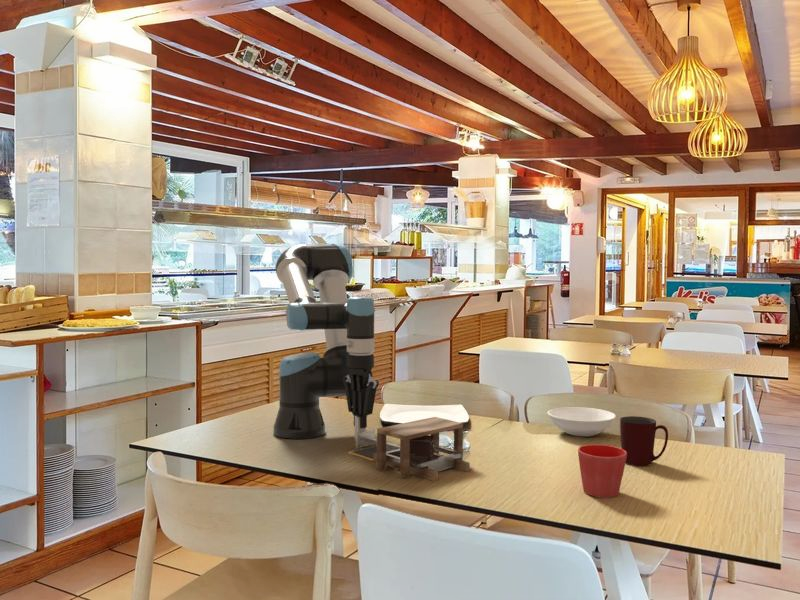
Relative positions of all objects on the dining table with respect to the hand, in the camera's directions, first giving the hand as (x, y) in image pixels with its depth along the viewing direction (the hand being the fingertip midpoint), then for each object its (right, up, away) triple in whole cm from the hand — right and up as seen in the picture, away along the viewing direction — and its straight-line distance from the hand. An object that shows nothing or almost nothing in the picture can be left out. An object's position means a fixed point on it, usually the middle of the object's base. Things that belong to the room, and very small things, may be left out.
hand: (360, 439), depth 207 cm
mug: (+74, -4, -12) cm, 75 cm away
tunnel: (+16, -4, -17) cm, 24 cm away
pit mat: (+5, -3, -5) cm, 7 cm away
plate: (+19, -1, +36) cm, 41 cm away
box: (+16, -4, -17) cm, 24 cm away
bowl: (+65, -2, +18) cm, 67 cm away
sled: (+11, -3, -11) cm, 16 cm away
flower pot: (+56, -6, -36) cm, 67 cm away
